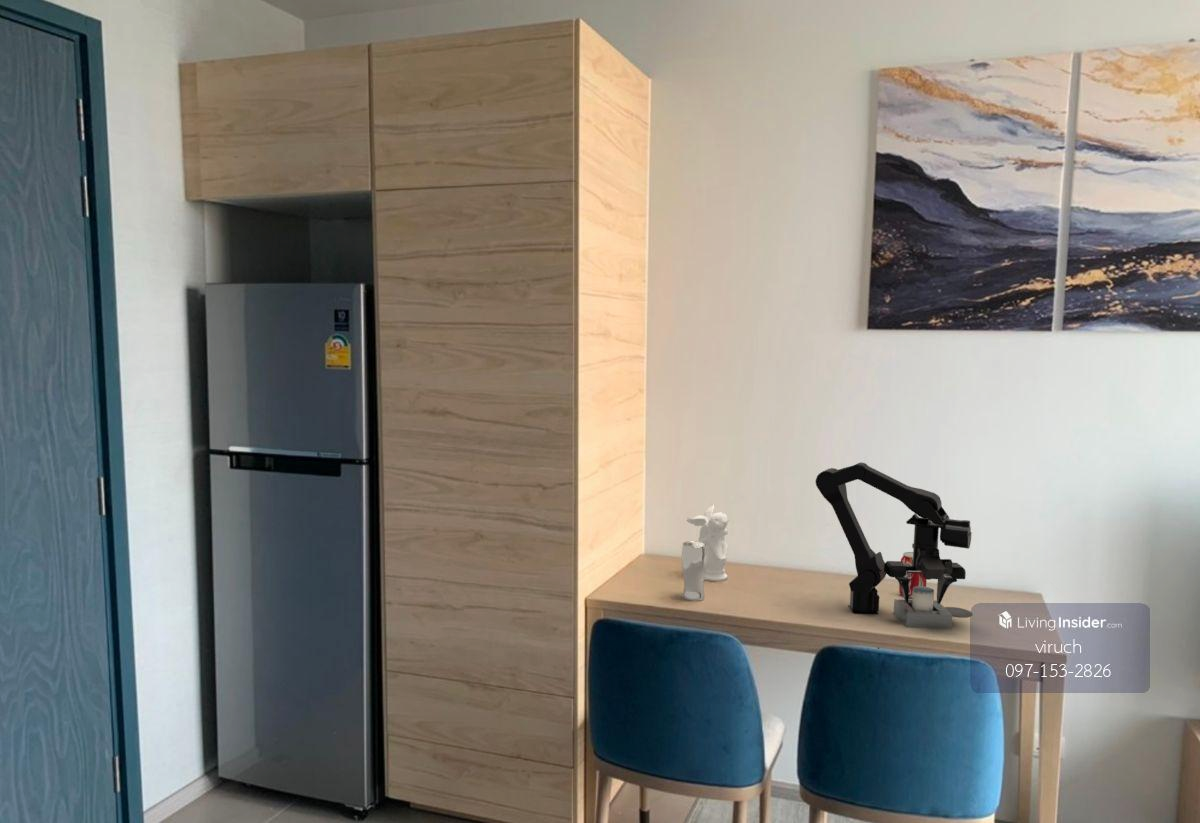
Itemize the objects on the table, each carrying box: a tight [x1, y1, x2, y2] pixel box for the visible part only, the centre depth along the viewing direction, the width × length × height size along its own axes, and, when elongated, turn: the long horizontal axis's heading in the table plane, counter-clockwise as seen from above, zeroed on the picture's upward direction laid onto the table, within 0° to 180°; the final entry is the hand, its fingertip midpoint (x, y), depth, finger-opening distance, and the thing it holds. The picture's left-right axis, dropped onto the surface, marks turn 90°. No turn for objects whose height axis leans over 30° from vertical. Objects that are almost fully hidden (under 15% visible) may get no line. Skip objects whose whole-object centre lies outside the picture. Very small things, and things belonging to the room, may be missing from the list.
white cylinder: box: [911, 586, 935, 611], centre depth 221 cm, size 5×5×8 cm
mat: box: [944, 606, 973, 619], centre depth 227 cm, size 8×8×1 cm
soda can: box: [898, 551, 927, 599], centre depth 241 cm, size 7×7×12 cm
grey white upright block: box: [681, 540, 707, 602], centre depth 238 cm, size 7×7×15 cm
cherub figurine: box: [686, 500, 730, 582], centre depth 257 cm, size 12×12×22 cm
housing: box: [893, 599, 953, 630], centre depth 221 cm, size 11×11×4 cm
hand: (922, 602), depth 221 cm, fingers open, 8 cm apart
